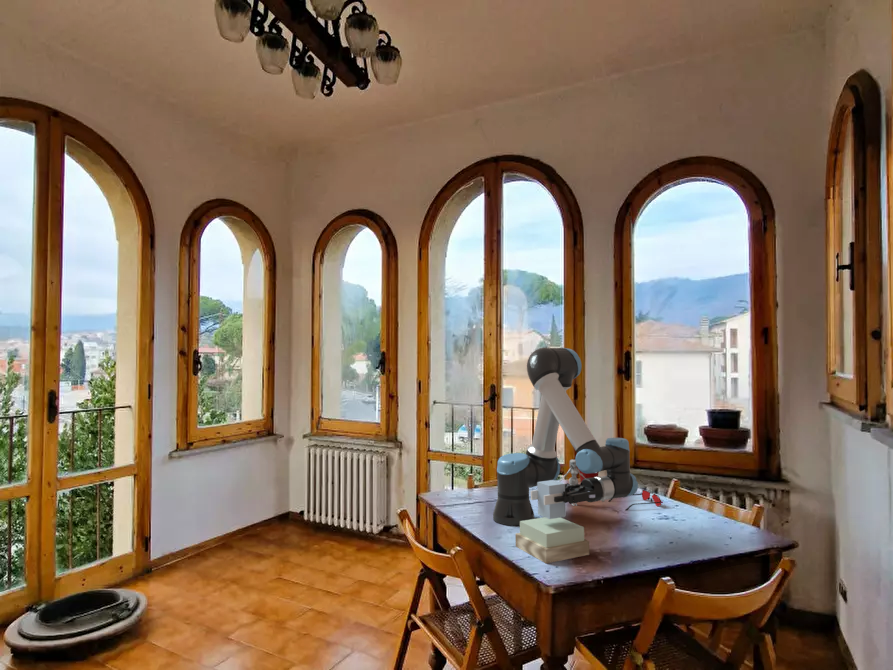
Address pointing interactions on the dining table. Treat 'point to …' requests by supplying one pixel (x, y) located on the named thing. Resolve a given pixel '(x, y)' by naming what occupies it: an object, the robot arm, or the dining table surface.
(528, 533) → the top brick
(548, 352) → the robot arm
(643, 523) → the dining table surface
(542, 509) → the tall brick
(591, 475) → the plastic cup
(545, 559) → the base brick
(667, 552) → the dining table surface
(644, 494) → the glasses
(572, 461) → the human figurine
